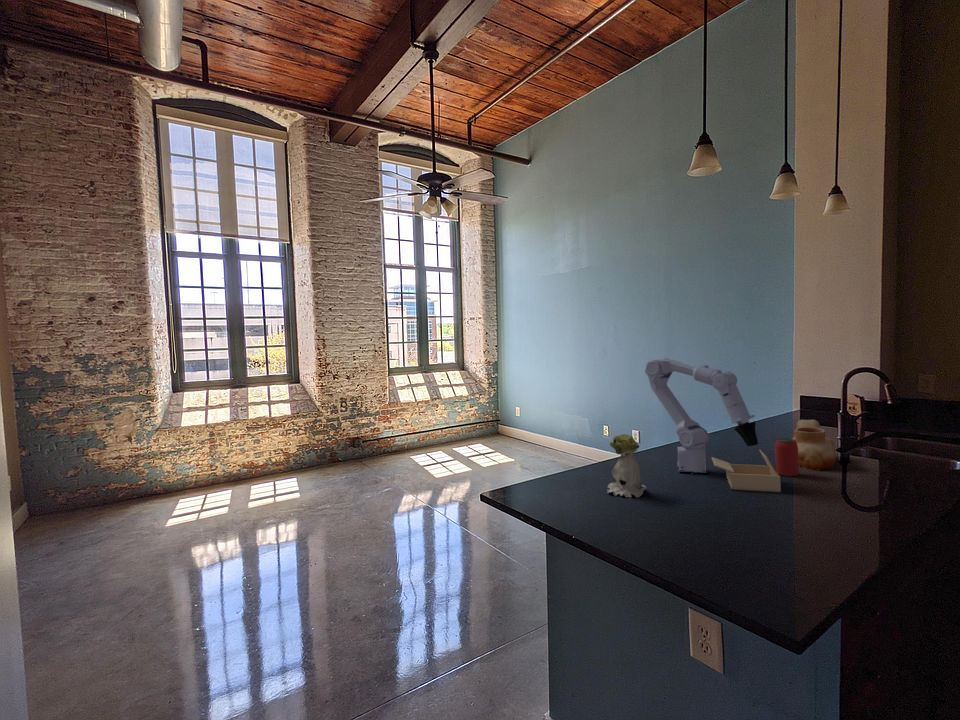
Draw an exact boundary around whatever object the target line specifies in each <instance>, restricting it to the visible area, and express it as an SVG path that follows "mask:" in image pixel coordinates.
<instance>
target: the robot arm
mask: <svg viewBox="0 0 960 720" xmlns="http://www.w3.org/2000/svg"><path fill="white" fill-rule="evenodd" d="M644 369H645V370H644V372H645V374H646V375H647V377H648V381H649V386H650V388H651V390H652V391H653V393H654V394H655V396H656V397H657V399H658V400H659V401H660V404H661V405H662V406H663V407H664V409H665V411H666V412H667V414H668V415H669V417H670V418H671V420H672V421H673V422H674V423H675V425H676V430H675V433H676V434H677V436H678V441H679V443H680V444H681V446H677V462H676V463H677V464H676V465H677V468H678V467H679V469H678V471H679V470H685V471H693V472H703V471H706V468H707V463H706V459H707V458H706V443H707V442H708V441H709V437H710V436H709V433H708V431H707V429H705V428H704V427H702V425H700V424H699V422H697V421H695V420H693V419H692V418H691V417H690V416H689V414H688V412H686V410H685V408H684V407H683V406H682V405H681V403H680V401H679V400H678V399H677V397H676V396H675V394H674V393H673V391H672V390H671V388H670V387H669V386H668V382H669V380H670V378H671V376H672V374H673V372H675V373H679V374H684V375H688V376H692V377H693V379H694V380H695V382H699V383H703V384H706V385H709V386H712V387H713V388H714V389H715V390H717V391H718V393H719V395H720V396H721V400H722V402H723V404H724V407H725V409H726V411H727V413H728V415H729V417H730V420H731V421H730V422H731V424H736V426H735V427H733V430H734V431H735V432H736V433H737V434H738V435H739V436H740V437H741V438H742V440H743V442H744V443H745V445H746V446H747V447H753V446H757V445H759V441H758V437H757V436H758V435H757V433H756V431H757V430H756V421H753V422H750V419H752V418H755V417H756V415H755V414H750V412H749V410H748V407H747V405H746V404H745V401H744V399H743V396H742V395H741V392H740V389H739V388H738V386H737V383H738V378H737V376H736V374H735V373H733V372H731V371H727V370H726V371H724V372H722V369H720V368H716V369H715V368H711V367H709V365H707V364H703V365H699V366H697V367H696V366H692V365H690V364H687V363H684V362H681V361H677V360H676V359H670V358H663V359H649V360H648V361H647V363H646V366H645V368H644ZM681 467H683V468H681Z"/></svg>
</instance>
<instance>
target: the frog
mask: <svg viewBox="0 0 960 720" xmlns="http://www.w3.org/2000/svg"><path fill="white" fill-rule="evenodd" d="M609 445H610V446H611V447H610V448H613V450H615V453H616V454H617V455H619V456H620V457H619V458H618V460H617V462H616V464H615V465H614V467H613V469H612V470H611V474H612V477H613V478H614V479H615V482H610V483H609V484H607V489H606V491H607V494H609V493H612V494H613V495H614V497H616V496H617V495H620V496H621V497H623V496H624V497H625V498H626V499H628V498H627V497H629V499H630V498H632V497H633V496H634V497H635V498H640V497H641V496H642V495H643V494H644V491H645V490H646V489H647V487H646V485H644V484H642V481H641V469H640V466H639V463H638V461H637V459H636V458H635V456H634V455H633V454H634V453H636V452H637V451H638V449H639V448H640V445H639V443H638V442H637V441H636V440H635V439H634V437H633V436H631V435H629V434H627V433H625V434H618V435H616V436H614V437H613V440H612V441H610V442H609Z"/></svg>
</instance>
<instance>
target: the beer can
mask: <svg viewBox="0 0 960 720" xmlns="http://www.w3.org/2000/svg"><path fill="white" fill-rule="evenodd" d="M774 452H775V453H774V454H775V471H776V472H777V473H778V474H780V476H782V475H783V477H797V476H799V474H800V467H799V460H798V445H797V443H796V440H794V439H792V438H786V437H785V438H784V437H781V438H776V442H775V445H774Z"/></svg>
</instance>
